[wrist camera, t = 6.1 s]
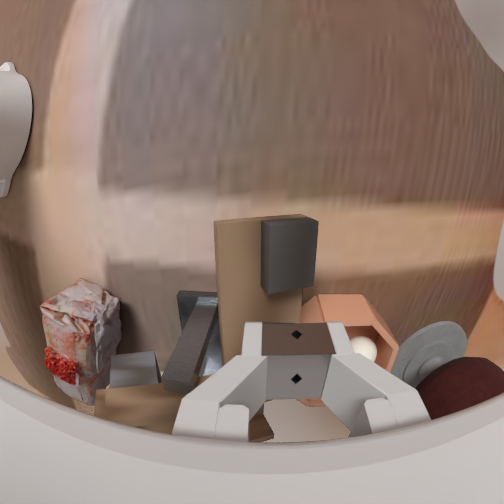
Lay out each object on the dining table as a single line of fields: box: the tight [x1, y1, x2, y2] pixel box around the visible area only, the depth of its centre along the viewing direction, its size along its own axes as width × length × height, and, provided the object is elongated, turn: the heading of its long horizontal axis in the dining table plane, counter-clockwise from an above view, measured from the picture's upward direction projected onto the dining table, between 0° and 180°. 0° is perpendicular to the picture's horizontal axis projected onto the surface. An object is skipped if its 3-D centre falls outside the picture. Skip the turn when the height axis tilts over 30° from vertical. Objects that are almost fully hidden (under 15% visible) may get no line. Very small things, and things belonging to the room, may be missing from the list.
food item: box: [40, 278, 122, 405], centre depth 25 cm, size 14×8×10 cm, turn 163°
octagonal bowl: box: [297, 294, 399, 407], centre depth 25 cm, size 11×11×4 cm
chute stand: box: [161, 291, 223, 394], centre depth 23 cm, size 6×11×11 cm, turn 0°
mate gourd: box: [390, 321, 504, 420], centre depth 19 cm, size 16×14×20 cm
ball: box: [350, 336, 377, 362], centre depth 25 cm, size 4×4×4 cm
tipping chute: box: [94, 214, 318, 443], centre depth 19 cm, size 15×18×8 cm
